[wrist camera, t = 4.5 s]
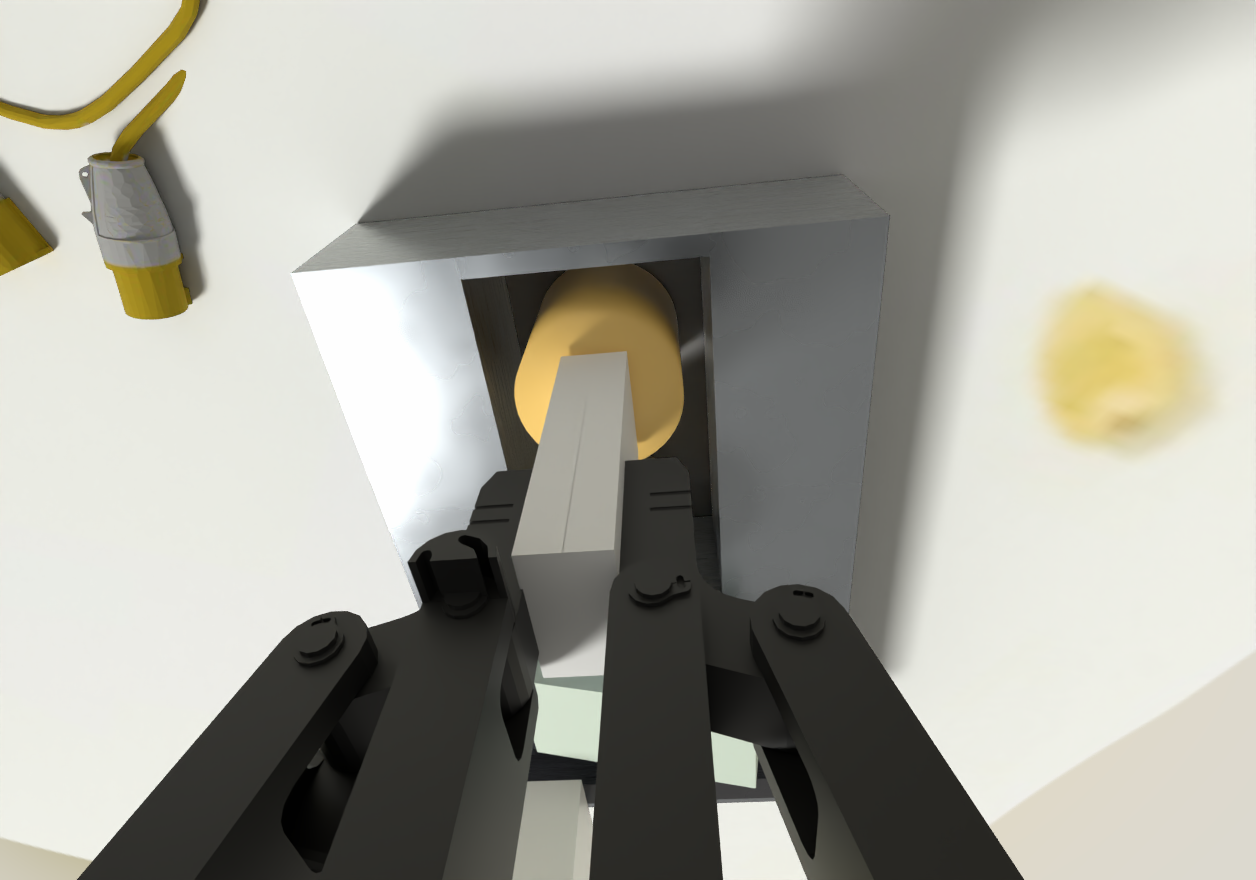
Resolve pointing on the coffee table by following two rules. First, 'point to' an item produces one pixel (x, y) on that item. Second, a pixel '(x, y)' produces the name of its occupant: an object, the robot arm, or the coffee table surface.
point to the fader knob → (554, 832)
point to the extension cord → (118, 193)
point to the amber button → (607, 346)
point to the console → (734, 363)
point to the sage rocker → (576, 727)
